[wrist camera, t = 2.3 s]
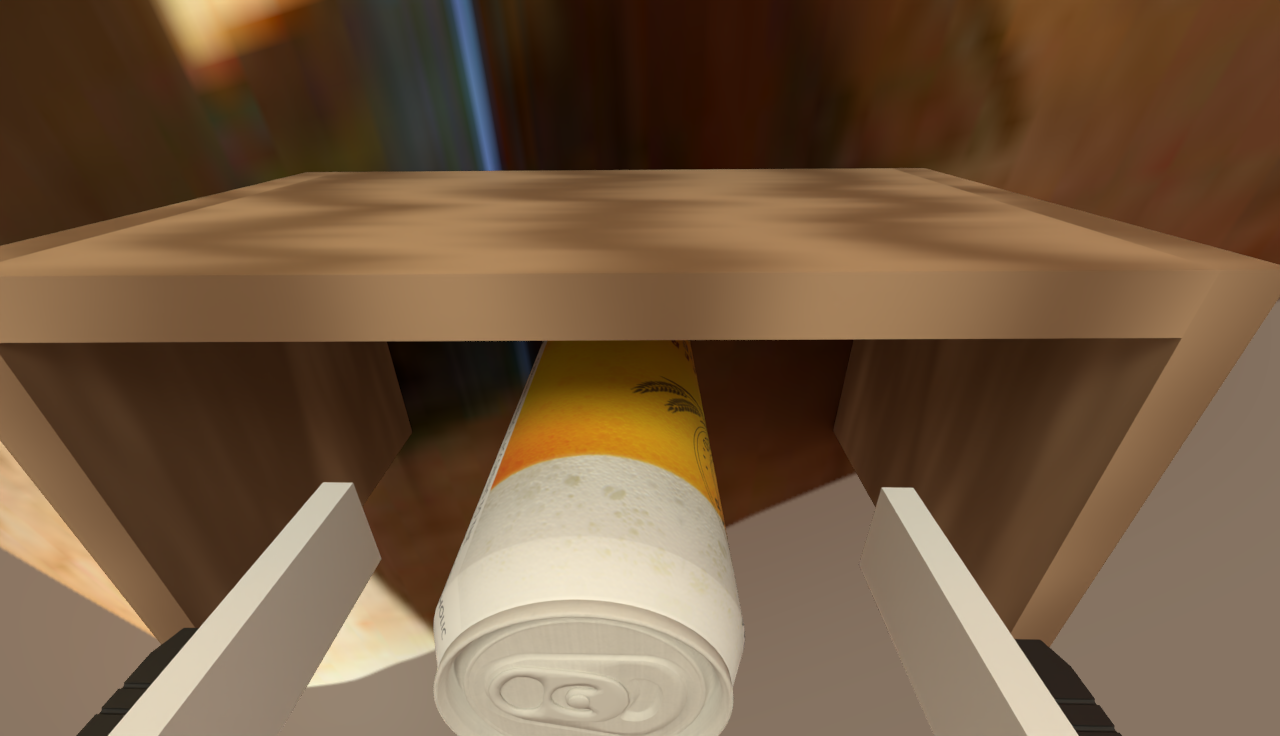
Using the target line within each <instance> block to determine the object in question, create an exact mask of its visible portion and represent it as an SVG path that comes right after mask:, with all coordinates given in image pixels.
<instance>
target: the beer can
mask: <svg viewBox="0 0 1280 736" xmlns="http://www.w3.org/2000/svg"><path fill="white" fill-rule="evenodd" d="M434 640H435V649H436V659H437V668H438V670H437V672H436V676H435V680H434V699H435V704H436V707H437V709H438V712H439V714H440V715H441V717H442V719H443V720H444V722H445V723H446V724H447V725H448V727H449V728H450V729H451V730H452V731H453V732H454V733H455V734H456V735H457V736H719V735H720V733H721V732H722V731H723V729H724V728H725V727H726V725H727V723H728V721H729V719H730V716H731V713H732V708H733V701H734V699H733V685H734V681H735V678H736V674H737V671H738V668H739V664H740V661H741V657H742V654H743V651H744V644H745V629H744V623H743V617H742V612H741V608H740V601H739V596H738V591H737V586H736V581H735V575H734V570H733V565H732V559H731V554H730V549H729V543H728V538H727V533H726V528H725V522H724V517H723V512H722V507H721V501H720V496H719V491H718V485H717V480H716V475H715V470H714V464H713V459H712V454H711V449H710V443H709V438H708V433H707V428H706V422H705V417H704V412H703V406H702V401H701V396H700V391H699V385H698V380H697V375H696V370H695V364H694V359H693V354H692V348H691V343H690V340H575V341H543V342H542V345H541V347H540V350H539V352H538V355H537V357H536V360H535V362H534V365H533V367H532V370H531V372H530V375H529V377H528V380H527V382H526V385H525V387H524V390H523V392H522V395H521V397H520V400H519V402H518V405H517V407H516V410H515V412H514V415H513V417H512V420H511V422H510V425H509V427H508V430H507V432H506V435H505V437H504V440H503V442H502V445H501V447H500V450H499V452H498V455H497V457H496V460H495V462H494V465H493V467H492V470H491V472H490V475H489V477H488V480H487V482H486V485H485V487H484V490H483V492H482V495H481V497H480V500H479V502H478V505H477V507H476V510H475V512H474V515H473V517H472V520H471V522H470V525H469V527H468V530H467V532H466V535H465V538H464V540H463V543H462V545H461V548H460V550H459V553H458V555H457V558H456V560H455V563H454V565H453V568H452V570H451V573H450V575H449V578H448V580H447V583H446V585H445V588H444V590H443V593H442V595H441V598H440V600H439V603H438V605H437V608H436V612H435V616H434Z"/></svg>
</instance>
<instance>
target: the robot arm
mask: <svg viewBox="0 0 1280 736" xmlns="http://www.w3.org/2000/svg"><path fill="white" fill-rule="evenodd" d="M380 560H381V556H380V554H379V551H378V548H377V546H376V543H375V540H374V538H373V535H372V532H371V529H370V527H369V524H368V521H367V519H366V516H365V513H364V511H363V508H362V505H361V503H360V500H359V497H358V494H357V492H356V489H355V486H354V484H353V483H335V482H323V483H322V484H321V485H320V487H319V488H318V489H317V490H316V491H315V492H314V494H313V495H312V496H311V497H310V498H309V499H308V501H307V502H306V503H305V504H304V505H303V507H302V508H301V509H300V510H299V511H298V512H297V514H296V515H295V516H294V517H293V518H292V519H291V521H290V522H289V523H288V524H287V525H286V527H285V528H284V529H283V530H282V531H281V532H280V534H279V535H278V536H277V537H276V538H275V539H274V541H273V542H272V543H271V544H270V545H269V547H268V548H267V549H266V550H265V551H264V552H263V554H262V555H261V556H260V557H259V558H258V560H257V561H256V562H255V563H254V564H253V565H252V567H251V568H250V569H249V570H248V571H247V572H246V574H245V575H244V576H243V577H242V578H241V580H240V581H239V582H238V583H237V584H236V585H235V587H234V588H233V589H232V590H231V591H230V592H229V594H228V595H227V596H226V597H225V598H224V600H223V601H222V602H221V603H220V604H219V605H218V607H217V608H216V609H215V610H214V611H213V612H212V614H211V615H210V616H209V617H208V618H207V620H206V621H205V622H204V623H203V624H202V625H201V627H200V628H183V629H181V630H180V631H179V632H178V633H176V634H175V635H174V636H172V637H171V638H170V639H168V640H167V641H166V642H164V643H163V644H162V645H161V646H159V647H158V648H157V649H155V650H154V651H153V652H151V653H150V654H149V656H148V657H147V658H146V659H145V660H144V661H143V662H142V663H141V664H140V666H139V667H138V668H137V669H136V670H135V671H134V672H133V673H132V675H131V676H130V677H129V678H128V679H127V680H126V681H125V682H124V687H123V688H122V689H118V690H117V691H116V692H115V694H114V695H113V696H112V697H111V698H110V699H109V700H108V701H107V703H106V704H105V705H104V706H103V707H102V711H101V712H100V713H99V714H96V715H95V716H94V717H93V718H92V719H91V720H90V721H89V722H88V723H87V725H86V726H85V727H84V728H83V729H82V730H81V731H80V732H79V733H78V735H77V736H278V735H279V733H280V732H281V730H282V728H283V726H284V725H285V723H286V721H287V720H288V718H289V716H290V714H291V713H292V711H293V709H294V708H295V706H296V704H297V702H298V701H299V699H300V697H301V696H302V694H303V692H304V690H305V689H306V687H307V685H308V684H309V682H310V680H311V679H312V677H313V675H314V673H315V672H316V670H317V668H318V667H319V665H320V663H321V661H322V660H323V658H324V656H325V655H326V653H327V651H328V649H329V648H330V646H331V644H332V643H333V641H334V639H335V637H336V636H337V634H338V632H339V631H340V629H341V627H342V625H343V624H344V622H345V620H346V619H347V617H348V615H349V613H350V612H351V610H352V608H353V607H354V605H355V603H356V601H357V600H358V598H359V596H360V595H361V593H362V591H363V589H364V588H365V586H366V584H367V583H368V581H369V579H370V577H371V576H372V574H373V572H374V571H375V569H376V567H377V565H378V564H379V562H380ZM859 566H860V569H861V571H862V573H863V576H864V578H865V580H866V582H867V585H868V587H869V589H870V591H871V594H872V596H873V598H874V601H875V603H876V605H877V607H878V610H879V612H880V614H881V616H882V619H883V621H884V623H885V625H886V628H887V630H888V632H889V635H890V637H891V639H892V641H893V644H894V646H895V648H896V650H897V653H898V655H899V657H900V659H901V662H902V664H903V666H904V669H905V671H906V673H907V675H908V678H909V680H910V682H911V684H912V687H913V689H914V691H915V693H916V695H917V698H918V700H919V702H920V705H921V707H922V709H923V712H924V714H925V716H926V718H927V721H928V723H929V725H930V727H931V730H932V732H933V734H934V736H1122V735H1121V734H1120V733H1117V732H1116V731H1115V729H1114V724H1113V723H1112V722H1111V720H1110V719H1109V718H1108V717H1107V715H1106V714H1105V712H1104V711H1103V710H1102V708H1101V707H1100V706H1099V705H1096V703H1095V701H1094V700H1095V699H1094V697H1093V696H1092V695H1091V693H1090V692H1089V690H1088V689H1087V688H1086V686H1085V685H1084V684H1083V683H1082V681H1081V680H1080V678H1079V677H1078V675H1077V674H1076V673H1075V672H1074V670H1073V669H1072V668H1071V666H1070V665H1068V664H1067V663H1066V662H1065V661H1064V660H1063V659H1062V658H1060V656H1058V655H1057V654H1056V653H1055V652H1054V651H1053V650H1052V649H1050V648H1049V647H1048V646H1047V645H1046V644H1045V643H1044V642H1043V641H1041V640H1038V639H1014V638H1013V637H1012V635H1011V634H1010V632H1009V631H1008V629H1007V628H1006V626H1005V625H1004V623H1003V622H1002V620H1001V619H1000V617H999V616H998V614H997V613H996V611H995V610H994V608H993V607H992V605H991V604H990V602H989V601H988V599H987V598H986V596H985V595H984V593H983V592H982V590H981V589H980V587H979V586H978V584H977V583H976V581H975V580H974V578H973V577H972V575H971V574H970V572H969V571H968V569H967V568H966V566H965V565H964V563H963V562H962V560H961V559H960V557H959V556H958V554H957V553H956V551H955V550H954V548H953V547H952V545H951V544H950V542H949V541H948V539H947V538H946V536H945V535H944V533H943V532H942V530H941V529H940V527H939V526H938V524H937V523H936V521H935V520H934V518H933V517H932V515H931V514H930V512H929V511H928V509H927V508H926V506H925V505H924V503H923V502H922V500H921V499H920V497H919V496H918V494H917V493H916V491H915V490H914V488H892V487H882V488H881V491H880V495H879V498H878V501H877V505H876V508H875V511H874V515H873V518H872V522H871V525H870V528H869V532H868V535H867V539H866V542H865V545H864V548H863V552H862V555H861V558H860V562H859Z"/></svg>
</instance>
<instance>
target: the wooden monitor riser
mask: <svg viewBox="0 0 1280 736" xmlns="http://www.w3.org/2000/svg"><path fill="white" fill-rule="evenodd" d="M1279 297H1280V265H1278V264H1274V263H1271V262H1267V261H1263V260H1260V259H1256V258H1252V257H1249V256H1245V255H1241V254H1238V253H1234V252H1230V251H1227V250H1223V249H1219V248H1216V247H1212V246H1208V245H1205V244H1201V243H1197V242H1194V241H1190V240H1186V239H1183V238H1179V237H1175V236H1172V235H1168V234H1164V233H1161V232H1157V231H1153V230H1150V229H1146V228H1142V227H1139V226H1135V225H1131V224H1128V223H1124V222H1120V221H1117V220H1113V219H1109V218H1106V217H1102V216H1098V215H1095V214H1091V213H1087V212H1084V211H1080V210H1076V209H1073V208H1069V207H1065V206H1062V205H1058V204H1054V203H1051V202H1047V201H1043V200H1040V199H1036V198H1032V197H1029V196H1025V195H1021V194H1018V193H1014V192H1010V191H1007V190H1003V189H999V188H996V187H992V186H988V185H985V184H981V183H977V182H974V181H970V180H966V179H963V178H959V177H955V176H952V175H948V174H944V173H941V172H937V171H933V170H930V169H926V168H863V169H715V170H567V171H419V172H306V173H302V174H297V175H293V176H289V177H285V178H281V179H277V180H272V181H268V182H264V183H260V184H256V185H252V186H248V187H243V188H239V189H235V190H231V191H227V192H223V193H218V194H214V195H210V196H206V197H202V198H198V199H194V200H189V201H185V202H181V203H177V204H173V205H169V206H165V207H160V208H156V209H152V210H148V211H144V212H140V213H135V214H131V215H127V216H123V217H119V218H115V219H111V220H106V221H102V222H98V223H94V224H90V225H86V226H81V227H77V228H73V229H69V230H65V231H61V232H57V233H52V234H48V235H44V236H40V237H36V238H32V239H27V240H23V241H19V242H15V243H11V244H7V245H3V246H0V441H1V442H2V443H3V444H4V446H5V447H6V448H7V449H8V451H9V452H10V453H11V455H12V456H13V457H14V458H15V460H16V461H17V462H18V463H19V465H20V466H21V467H22V469H23V470H24V471H25V472H26V474H27V475H28V476H29V477H30V479H31V480H32V481H33V482H34V484H35V485H36V486H37V488H38V489H39V490H40V491H41V493H42V494H43V495H44V496H45V498H46V499H47V500H48V501H49V503H50V504H51V505H52V507H53V508H54V509H55V510H56V512H57V513H58V514H59V515H60V517H61V518H62V519H63V520H64V522H65V523H66V524H67V526H68V527H69V528H70V529H71V531H72V532H73V533H74V534H75V536H76V537H77V538H78V539H79V541H80V542H81V543H82V545H83V546H84V547H85V548H86V550H87V551H88V552H89V553H90V555H91V556H92V557H93V558H94V560H95V561H96V562H97V564H98V565H99V566H100V567H101V569H102V570H103V571H104V572H105V574H106V575H107V576H108V578H109V579H110V580H111V581H112V583H113V584H114V585H115V586H116V588H117V589H118V590H119V591H120V593H121V594H122V595H123V597H124V598H125V599H126V600H127V602H128V603H129V604H130V605H131V607H132V608H133V609H134V610H135V612H136V613H137V614H138V616H139V617H140V618H141V619H142V621H143V622H144V623H145V624H146V626H147V627H148V628H149V629H150V631H151V632H152V633H153V635H154V636H155V637H156V638H157V640H158V641H159V642H160V643H161V645H162V644H163V643H164V642H166V641H167V640H168V639H170V638H171V637H172V636H174V635H175V634H176V633H178V632H179V631H180V630H181V629H183V628H200V627H201V625H202V624H203V623H204V622H205V621H206V620H207V618H208V617H209V616H210V615H211V614H212V612H213V611H214V610H215V609H216V608H217V607H218V605H219V604H220V603H221V602H222V601H223V600H224V598H225V597H226V596H227V595H228V594H229V592H230V591H231V590H232V589H233V588H234V587H235V585H236V584H237V583H238V582H239V581H240V580H241V578H242V577H243V576H244V575H245V574H246V572H247V571H248V570H249V569H250V568H251V567H252V565H253V564H254V563H255V562H256V561H257V560H258V558H259V557H260V556H261V555H262V554H263V552H264V551H265V550H266V549H267V548H268V547H269V545H270V544H271V543H272V542H273V541H274V539H275V538H276V537H277V536H278V535H279V534H280V532H281V531H282V530H283V529H284V528H285V527H286V525H287V524H288V523H289V522H290V521H291V519H292V518H293V517H294V516H295V515H296V514H297V512H298V511H299V510H300V509H301V508H302V507H303V505H304V504H305V503H306V502H307V501H308V499H309V498H310V497H311V496H312V495H313V494H314V492H315V491H316V490H317V489H318V488H319V487H320V485H321V484H322V483H323V482H335V483H353V484H354V486H355V489H356V492H357V494H358V497H359V500H360V503H361V505H362V506H363V505H364V503H365V502H366V500H367V499H368V497H369V496H370V494H371V493H372V491H373V490H374V488H375V487H376V485H377V484H378V483H379V481H380V480H381V478H382V477H383V475H384V474H385V472H386V471H387V469H388V468H389V466H390V465H391V463H392V462H393V460H394V459H395V457H396V456H397V454H398V453H399V451H400V450H401V448H402V447H403V446H404V444H405V443H406V441H407V440H408V438H409V437H410V435H411V434H412V429H411V426H410V422H409V418H408V415H407V411H406V408H405V404H404V401H403V397H402V394H401V390H400V387H399V383H398V380H397V376H396V373H395V369H394V366H393V362H392V359H391V355H390V351H389V348H388V344H387V341H575V340H817V339H853V344H852V348H851V353H850V357H849V362H848V366H847V371H846V375H845V380H844V384H843V389H842V393H841V397H840V402H839V406H838V411H837V415H836V420H835V424H834V429H833V432H834V434H835V436H836V438H837V439H838V441H839V443H840V445H841V446H842V448H843V450H844V452H845V454H846V455H847V457H848V459H849V461H850V463H851V464H852V466H853V468H854V470H855V471H856V473H857V475H858V477H859V479H860V480H861V482H862V484H863V486H864V487H865V489H866V491H867V493H868V495H869V496H870V498H871V500H872V502H873V504H874V505H875V507H876V505H877V501H878V498H879V495H880V491H881V488H882V487H892V488H914V490H915V491H916V493H917V494H918V496H919V497H920V499H921V500H922V502H923V503H924V505H925V506H926V508H927V509H928V511H929V512H930V514H931V515H932V517H933V518H934V520H935V521H936V523H937V524H938V526H939V527H940V529H941V530H942V532H943V533H944V535H945V536H946V538H947V539H948V541H949V542H950V544H951V545H952V547H953V548H954V550H955V551H956V553H957V554H958V556H959V557H960V559H961V560H962V562H963V563H964V565H965V566H966V568H967V569H968V571H969V572H970V574H971V575H972V577H973V578H974V580H975V581H976V583H977V584H978V586H979V587H980V589H981V590H982V592H983V593H984V595H985V596H986V598H987V599H988V601H989V602H990V604H991V605H992V607H993V608H994V610H995V611H996V613H997V614H998V616H999V617H1000V619H1001V620H1002V622H1003V623H1004V625H1005V626H1006V628H1007V629H1008V631H1009V632H1010V634H1011V635H1012V637H1013V638H1014V639H1038V640H1041V641H1043V642H1044V643H1045V644H1046V645H1047V646H1048V647H1050V645H1051V644H1052V643H1053V641H1054V639H1055V638H1056V636H1057V635H1058V633H1059V632H1060V630H1061V629H1062V627H1063V626H1064V624H1065V623H1066V621H1067V620H1068V618H1069V617H1070V615H1071V614H1072V612H1073V611H1074V609H1075V607H1076V606H1077V604H1078V603H1079V601H1080V600H1081V598H1082V597H1083V595H1084V594H1085V592H1086V591H1087V589H1088V588H1089V586H1090V585H1091V583H1092V581H1093V580H1094V579H1095V577H1096V575H1097V574H1098V572H1099V571H1100V569H1101V568H1102V566H1103V565H1104V563H1105V562H1106V560H1107V558H1108V557H1109V556H1110V554H1111V553H1112V551H1113V550H1114V548H1115V547H1116V545H1117V543H1118V542H1119V540H1120V539H1121V537H1122V536H1123V534H1124V533H1125V531H1126V530H1127V528H1128V527H1129V525H1130V523H1131V522H1132V521H1133V519H1134V518H1135V516H1136V514H1137V513H1138V511H1139V510H1140V508H1141V507H1142V505H1143V504H1144V502H1145V501H1146V499H1147V498H1148V496H1149V495H1150V493H1151V492H1152V490H1153V488H1154V487H1155V486H1156V484H1157V482H1158V481H1159V480H1160V478H1161V476H1162V475H1163V473H1164V472H1165V470H1166V469H1167V467H1168V466H1169V464H1170V463H1171V461H1172V460H1173V458H1174V457H1175V455H1176V454H1177V452H1178V451H1179V449H1180V448H1181V446H1182V444H1183V443H1184V441H1185V440H1186V438H1187V437H1188V435H1189V434H1190V432H1191V431H1192V429H1193V428H1194V426H1195V425H1196V423H1197V422H1198V420H1199V418H1200V417H1201V415H1202V414H1203V412H1204V411H1205V409H1206V408H1207V406H1208V405H1209V403H1210V402H1211V400H1212V399H1213V397H1214V396H1215V394H1216V393H1217V391H1218V390H1219V388H1220V387H1221V385H1222V383H1223V382H1224V380H1225V379H1226V377H1227V376H1228V374H1229V373H1230V371H1231V370H1232V368H1233V367H1234V365H1235V364H1236V362H1237V361H1238V359H1239V358H1240V356H1241V354H1242V353H1243V352H1244V350H1245V348H1246V347H1247V345H1248V344H1249V342H1250V341H1251V339H1252V338H1253V336H1254V335H1255V333H1256V332H1257V330H1258V329H1259V327H1260V326H1261V324H1262V322H1263V321H1264V319H1265V318H1266V316H1267V315H1268V313H1269V312H1270V310H1271V309H1272V307H1273V306H1274V304H1275V303H1276V301H1277V300H1278V298H1279Z"/></svg>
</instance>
